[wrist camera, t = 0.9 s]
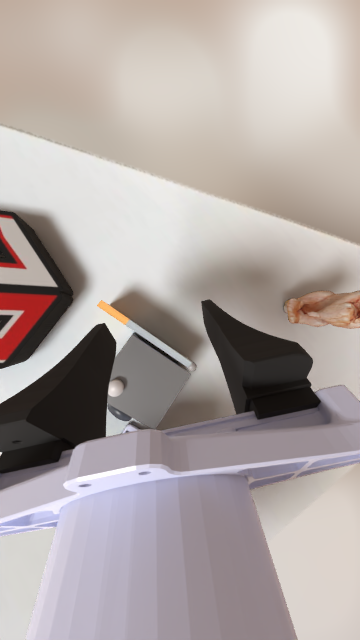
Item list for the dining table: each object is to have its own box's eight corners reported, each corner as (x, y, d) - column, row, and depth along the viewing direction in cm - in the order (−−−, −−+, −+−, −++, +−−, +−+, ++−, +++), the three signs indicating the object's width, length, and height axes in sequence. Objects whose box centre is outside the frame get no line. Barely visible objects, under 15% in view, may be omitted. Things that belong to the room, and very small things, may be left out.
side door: (183, 363, 27) (193, 372, 22) (104, 310, 24) (96, 306, 20) (187, 357, 27) (198, 365, 22) (109, 303, 25) (102, 299, 20)
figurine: (270, 300, 31) (385, 281, 16) (303, 292, 33) (434, 268, 18) (277, 333, 31) (397, 343, 17) (309, 324, 33) (444, 325, 18)
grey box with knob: (147, 417, 26) (149, 442, 20) (94, 386, 24) (81, 404, 19) (181, 365, 27) (192, 375, 22) (133, 332, 26) (132, 335, 20)
